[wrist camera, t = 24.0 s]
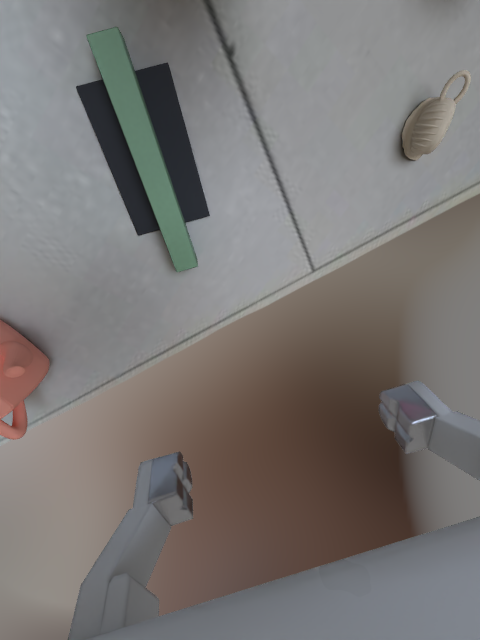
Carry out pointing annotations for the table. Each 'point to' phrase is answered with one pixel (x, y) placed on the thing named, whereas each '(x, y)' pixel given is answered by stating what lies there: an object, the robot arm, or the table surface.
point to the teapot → (18, 378)
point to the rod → (142, 142)
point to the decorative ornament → (431, 121)
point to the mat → (169, 137)
